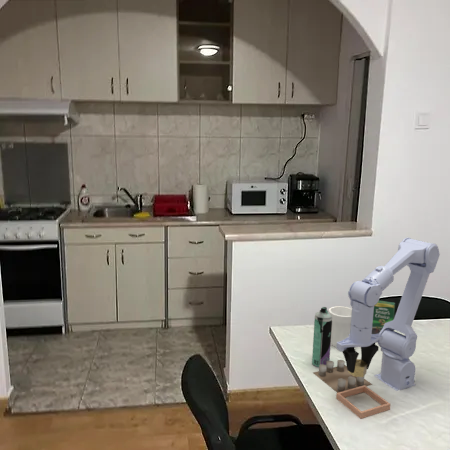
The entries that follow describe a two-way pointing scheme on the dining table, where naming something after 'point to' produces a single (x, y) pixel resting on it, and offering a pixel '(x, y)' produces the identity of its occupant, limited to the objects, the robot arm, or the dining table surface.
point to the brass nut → (360, 368)
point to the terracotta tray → (365, 413)
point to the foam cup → (340, 323)
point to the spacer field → (339, 376)
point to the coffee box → (382, 315)
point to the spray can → (322, 337)
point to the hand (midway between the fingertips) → (357, 369)
